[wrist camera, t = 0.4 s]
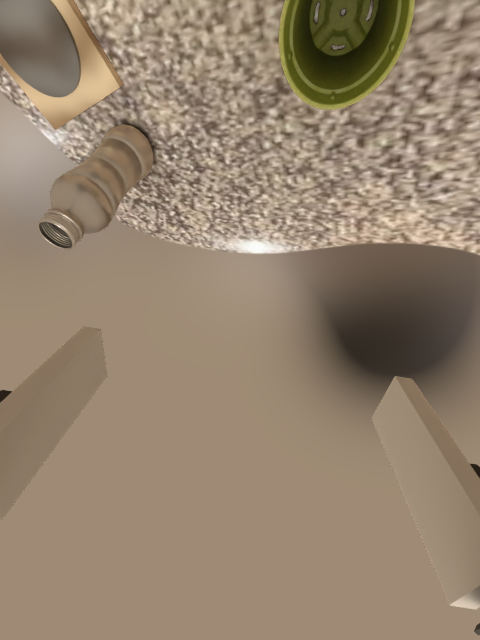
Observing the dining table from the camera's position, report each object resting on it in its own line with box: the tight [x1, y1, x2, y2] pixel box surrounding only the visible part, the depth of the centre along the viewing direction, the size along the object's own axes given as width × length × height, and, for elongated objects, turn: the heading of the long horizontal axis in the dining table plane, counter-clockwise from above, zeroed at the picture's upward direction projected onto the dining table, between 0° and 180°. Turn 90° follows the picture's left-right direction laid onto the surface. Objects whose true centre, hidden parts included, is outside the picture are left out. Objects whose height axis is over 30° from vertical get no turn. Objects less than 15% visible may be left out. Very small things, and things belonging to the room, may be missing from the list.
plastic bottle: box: [37, 124, 153, 250], centre depth 34 cm, size 6×7×20 cm
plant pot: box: [279, 0, 415, 110], centre depth 23 cm, size 9×9×9 cm
